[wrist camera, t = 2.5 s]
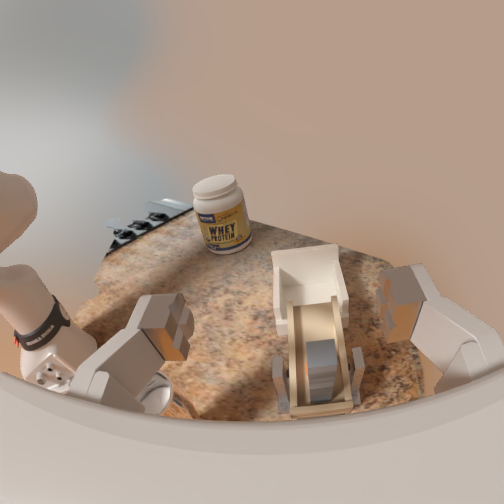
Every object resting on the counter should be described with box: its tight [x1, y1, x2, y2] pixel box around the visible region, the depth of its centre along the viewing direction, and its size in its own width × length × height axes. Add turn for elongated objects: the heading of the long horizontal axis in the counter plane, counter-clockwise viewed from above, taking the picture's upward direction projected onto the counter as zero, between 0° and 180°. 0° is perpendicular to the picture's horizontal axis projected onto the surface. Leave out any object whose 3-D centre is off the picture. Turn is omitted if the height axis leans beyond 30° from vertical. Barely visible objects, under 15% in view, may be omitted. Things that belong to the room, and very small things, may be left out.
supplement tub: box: [193, 174, 252, 254], centre depth 68 cm, size 12×12×17 cm
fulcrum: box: [272, 347, 365, 414], centre depth 33 cm, size 6×12×9 cm, turn 86°
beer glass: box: [135, 370, 205, 420], centre depth 29 cm, size 7×7×15 cm
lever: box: [286, 295, 353, 420], centre depth 30 cm, size 16×8×16 cm, turn 176°
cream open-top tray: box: [271, 243, 349, 336], centre depth 47 cm, size 12×12×9 cm
